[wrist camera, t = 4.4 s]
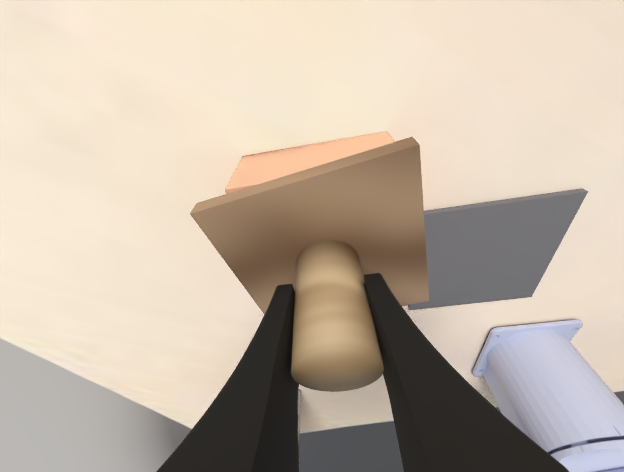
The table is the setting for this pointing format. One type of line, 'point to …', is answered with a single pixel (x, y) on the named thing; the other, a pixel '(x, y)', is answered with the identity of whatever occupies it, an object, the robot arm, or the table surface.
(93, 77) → the table surface
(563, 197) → the mat
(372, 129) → the table surface
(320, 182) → the lid
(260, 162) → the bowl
